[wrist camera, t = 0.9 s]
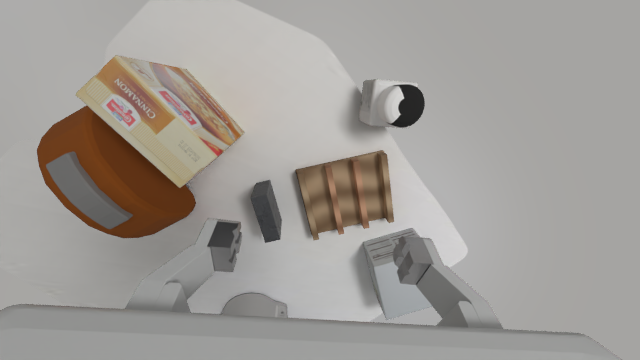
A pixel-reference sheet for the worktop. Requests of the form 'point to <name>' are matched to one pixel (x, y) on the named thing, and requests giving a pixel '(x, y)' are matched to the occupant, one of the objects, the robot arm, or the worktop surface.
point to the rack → (346, 192)
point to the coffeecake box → (161, 115)
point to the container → (390, 103)
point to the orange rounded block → (108, 179)
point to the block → (267, 211)
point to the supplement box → (392, 277)
